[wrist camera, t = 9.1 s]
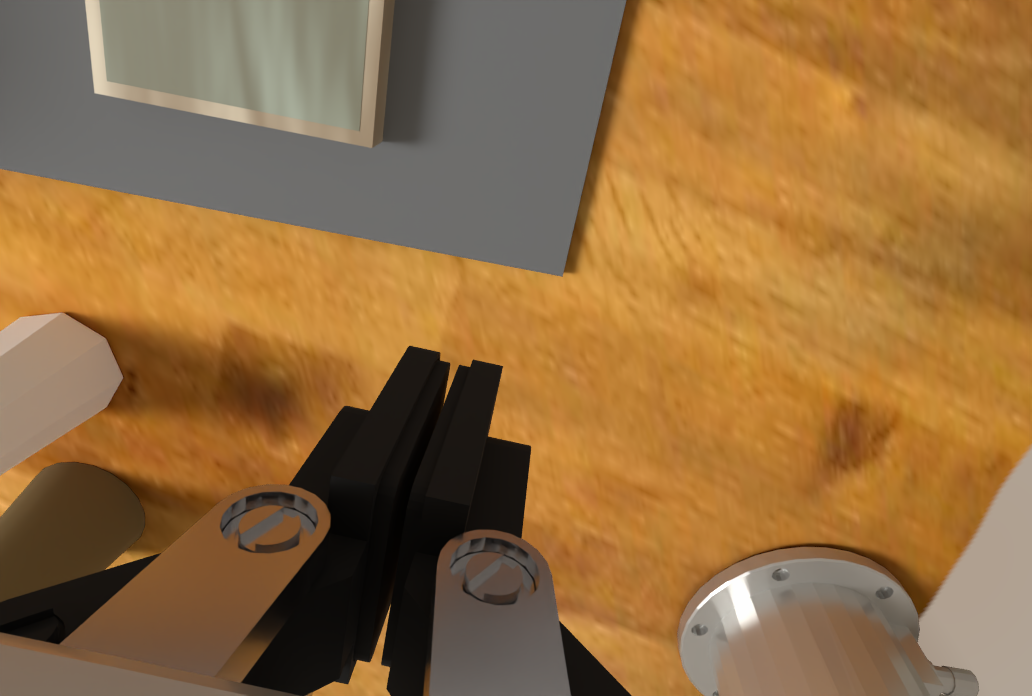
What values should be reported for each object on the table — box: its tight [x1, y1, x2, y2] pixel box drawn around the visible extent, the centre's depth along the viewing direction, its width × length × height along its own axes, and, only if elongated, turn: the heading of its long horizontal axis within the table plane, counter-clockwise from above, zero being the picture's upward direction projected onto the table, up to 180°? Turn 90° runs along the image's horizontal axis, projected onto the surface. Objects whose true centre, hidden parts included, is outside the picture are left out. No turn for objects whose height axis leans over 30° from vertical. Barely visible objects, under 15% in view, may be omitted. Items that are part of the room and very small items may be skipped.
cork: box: [0, 462, 145, 602], centre depth 29 cm, size 6×6×11 cm
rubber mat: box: [0, 0, 626, 277], centre depth 23 cm, size 24×16×1 cm, turn 79°
